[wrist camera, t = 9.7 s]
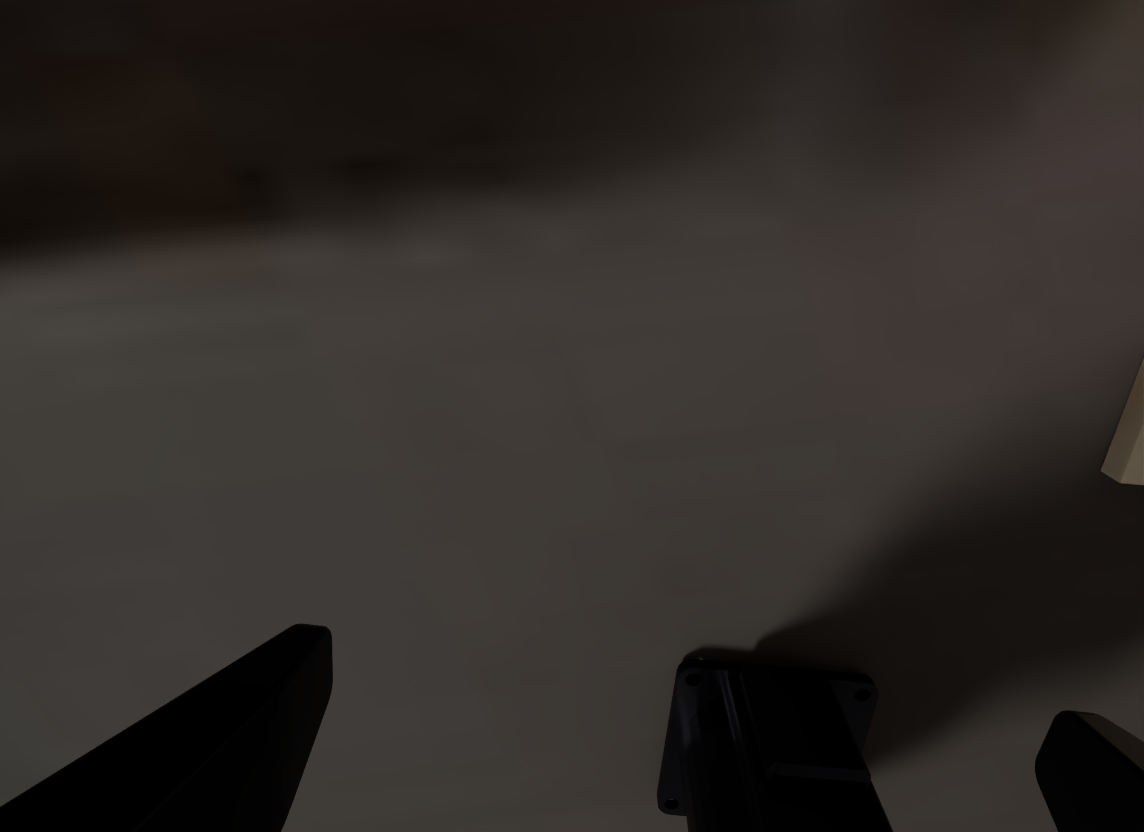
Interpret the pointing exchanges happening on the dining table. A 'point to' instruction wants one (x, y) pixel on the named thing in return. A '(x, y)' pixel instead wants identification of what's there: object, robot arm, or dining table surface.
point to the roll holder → (1129, 439)
